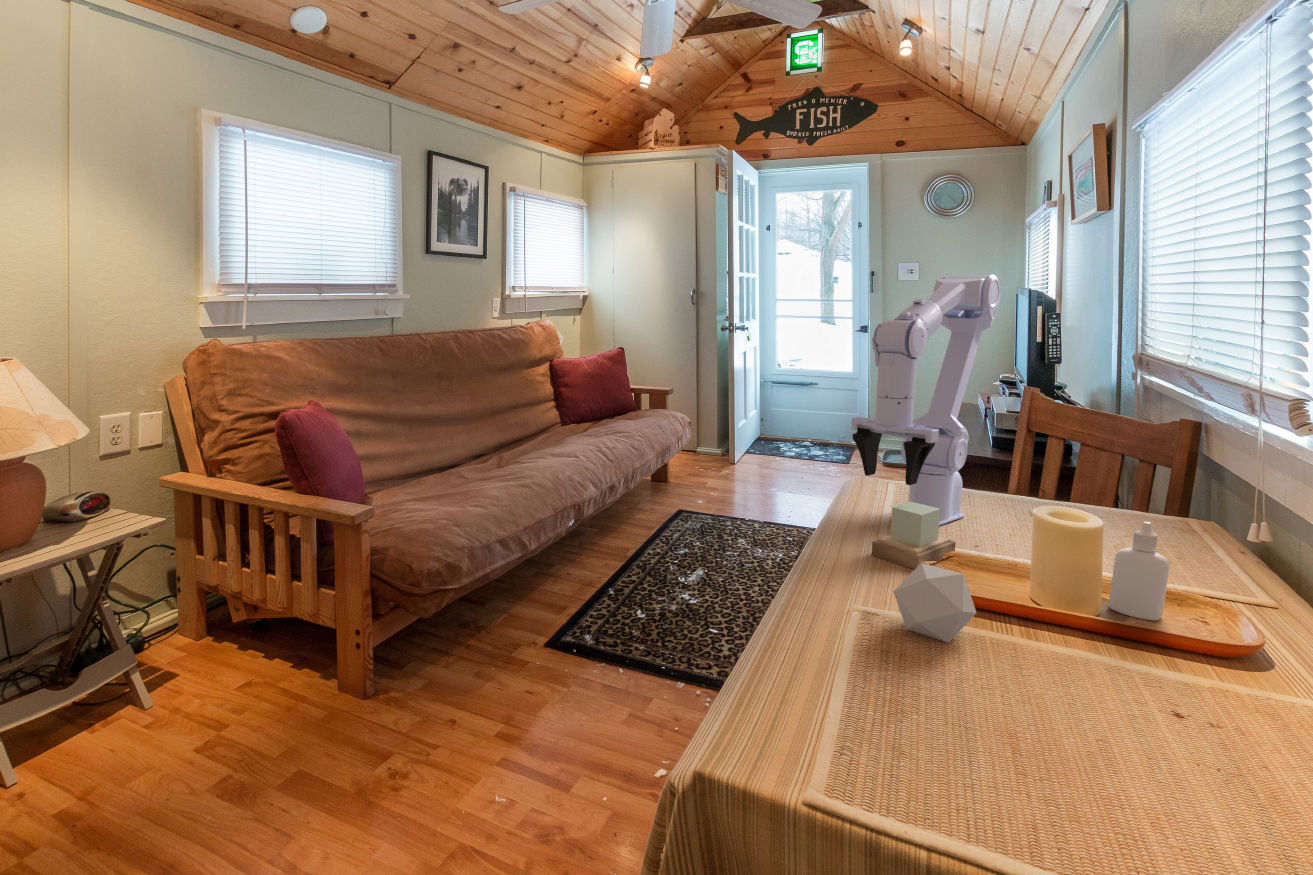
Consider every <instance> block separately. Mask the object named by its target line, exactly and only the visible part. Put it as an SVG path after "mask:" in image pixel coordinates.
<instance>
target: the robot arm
mask: <svg viewBox="0 0 1313 875" xmlns="http://www.w3.org/2000/svg"><path fill="white" fill-rule="evenodd" d="M1000 301H1001V285H1000V280H999V279H998V277H997V276H996V275H995V274H988V275H957V276H955V275H952V276H949V275H941V276H940V277H939V278H938V279H936V280H935V283H934V287H933V292H932V293H931V295H930V296H929V297H928V298H927V299H925V298H915V299H914V300H913V301H912V304H911V305H909V306H908V307H907V308H905V309H904V310H903V311H902V312H900V313H899V314H898V315H897V316H896V317H895V318H894V319H885V320H882V321H881V322H880V323H879V324H877V326H876V328H875V330H874V331H873V332H874V333H873V337H872V340H871V344H872V349H873V352H874V356H875V357H874V364H875V366H876V367H877V368H878V369H877V381H876V382H877V383H876V385H877V386H876V404H875V418H873V417H862V416H857V417H852V418H851V430H854V431H856V432H855V433H852V436H851V437H852V440H853V442H854V443H855V445H856V447H857V449H858V452H859V454H860V458H861V462H862V467H863V472H864V476H868V477H869V476H872V475H875V474H876V473H877V472H876V471H877V466H878V465H877V464H878V452H879V448H880V443H881V439H882V436H883V435H887V436H894V437H900V438H903V439H902V441H901V446H900V447H901V448H900V451H901V452H900V453H901V457H902V459H903V461H904V462H905V464H906V465H905V476H904V477H905V478H904V479H905V485H907V486H909V490H908V501H907V503H908V502H915V503H919V504H923V505H927V506H931V507H935V508H939V509H940V518H939V527H940V526H942V525H944V524H945V525H946V524H947V523H950V522H953V521H957V520H959V519H961V518H964V517H965V513H961V504H962V494H963V478H962V476H961V474H960V472H959V471H960V470H961V469H962V468H963V466H964V465H965V462H966V460H967V456H968V444H969V439H970V435H969V432H968V429H967V428H966V427H965V426H964V425H963V424H962V423H961V422H960V421H959V420H958V416H959V413H960V409H961V406H962V403H963V399H964V395H965V393H966V389H967V385H968V382H969V380H970V379H969V378H970V375H971V372H972V368H973V364H974V361H975V357H976V354H977V351H978V347H979V344H980V340H981V337H982V334H983V332H985V331H986V330H988V329H989V328H992V327H993V323H994V320H995V319H996V316H997V311H998V307H999V304H1000ZM941 326H942V327H944V328H946V329H948V330H949V331H950V336H949V341H948V343H947V348H946V351H945V353H944V358H943V361H942V364H941V367H940V371H939V374H938V378H937V381H936V385H935V389H934V392H933V395H932V398H931V401H930V405H929V408H928V411H927V412H926V413H925V414H923V415H921V416H919V417H917V418H916V419H914V411H915V410H914V409H915V408H914V407H915V406H914V405H915V395H916V394H915V393H916V381H917V380H916V378H917V365H918V363H917V361H918V358H919V357H921V356H922V354H923V352H924V349H925V346H926V344H927V343H928V340H929V337H930V336H931V335H933V333H934V332H936V331H937V330H938V329H940V327H941ZM913 419H914V420H913Z"/></svg>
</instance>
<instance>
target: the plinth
mask: <svg viewBox="0 0 1313 875" xmlns="http://www.w3.org/2000/svg"><path fill="white" fill-rule="evenodd" d="M890 536H891V534H890V535H886V536H884V537H881V538H878V539H875V540H873V541H872V542H871V556H873V557H877V558H879V559H883V560H886V561H888V562H892V563H894V564H898V565H900V566H904V567H907V568H909V569H912V570H915V569H916V568H917V567H918V565H919V563H920V562H921V561H939V560H940V559H942V558H943V556H944V554H946V553H947V552H951V551H955V552H956V541H954V540H951V538H949V537H948V538H947V537H944V536H940V535H938V540H937V541H934V542H931V543H929V544H926V545H924V546H921V547H918V546H914V545H911V544H908V543H904V542H901V541H898V540H894V539H891V538H890Z"/></svg>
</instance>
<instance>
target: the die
mask: <svg viewBox="0 0 1313 875" xmlns="http://www.w3.org/2000/svg"><path fill="white" fill-rule="evenodd" d="M893 594H894V598H895V600H896V603H897V605H898V608H899V611H900V614H901V618H902V621H903V623H904V626H905V630H908V631H911V632H913V633H916V634H920V635H923V636H926V637H928V638H932V639H934V640H938V641H941V642H944V643H947V644H949V643H950V642H951V641H952V640H953V639H954V638H955V637H956V636H957V634H959V632H961V631H962V629H963V628H964V627H965V626H966V625H967V624H968V623H969V622H970V621H971V620H972V619H973V618H974V616H975V615H977V610H976V607H975V604H974V601H973V598H972V595H971V592H970V589H969V586H968V583H967V581H966V577H965V573H962V572H958V571H953V570H951V569H946V568H942V567H939V566H934V565H927V564H923V563H921V564H920V565H919V566H918V567H917V568H916V569H913V570H912V572H911V573H910V574H909V575H908V576H907V577H906V578H905V579H904V580H903V581H902V582H901V583H900V584H899V585H898V586H897V587H896V588H895V589H894V590H893Z"/></svg>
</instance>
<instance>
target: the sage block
mask: <svg viewBox="0 0 1313 875" xmlns="http://www.w3.org/2000/svg"><path fill="white" fill-rule="evenodd" d="M891 509H892V511H891V512H892V513H891V525H890V535H891V536H890V538H891V539H894V540H898V541H901V542H904V543H908V544H911V545H914V546H918V547H921V546H924V545H926V544H929V543H931V542H934V541H937V540H938V536H939V528H940V526H939V518H940V509H939V508H935V507H931V506H927V505H923V504H919V503H915V502H908V501H907V502H905V503H901V504H898V505H895V506H893V507H891Z"/></svg>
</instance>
